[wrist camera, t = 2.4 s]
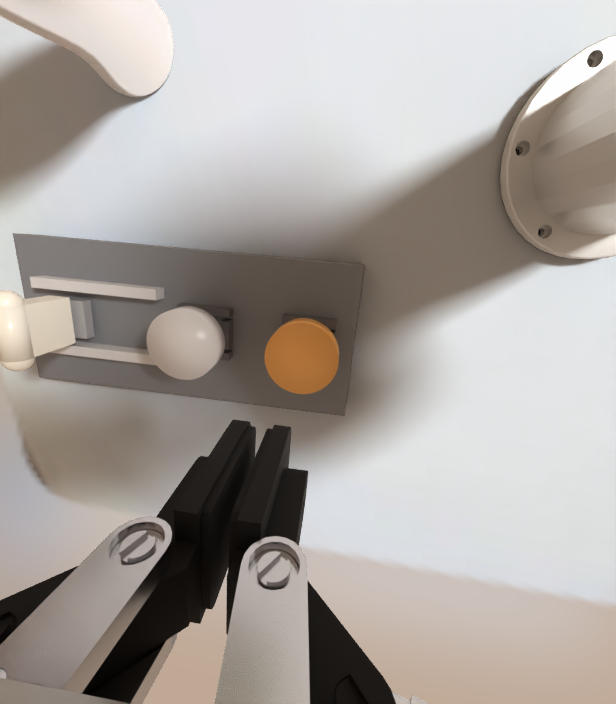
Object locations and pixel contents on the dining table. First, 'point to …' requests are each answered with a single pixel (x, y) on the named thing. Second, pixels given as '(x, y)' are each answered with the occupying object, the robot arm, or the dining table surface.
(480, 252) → the dining table surface
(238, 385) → the panel
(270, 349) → the orange button
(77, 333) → the lever
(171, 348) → the white rounded thick disc
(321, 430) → the dining table surface
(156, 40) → the tall white cup
